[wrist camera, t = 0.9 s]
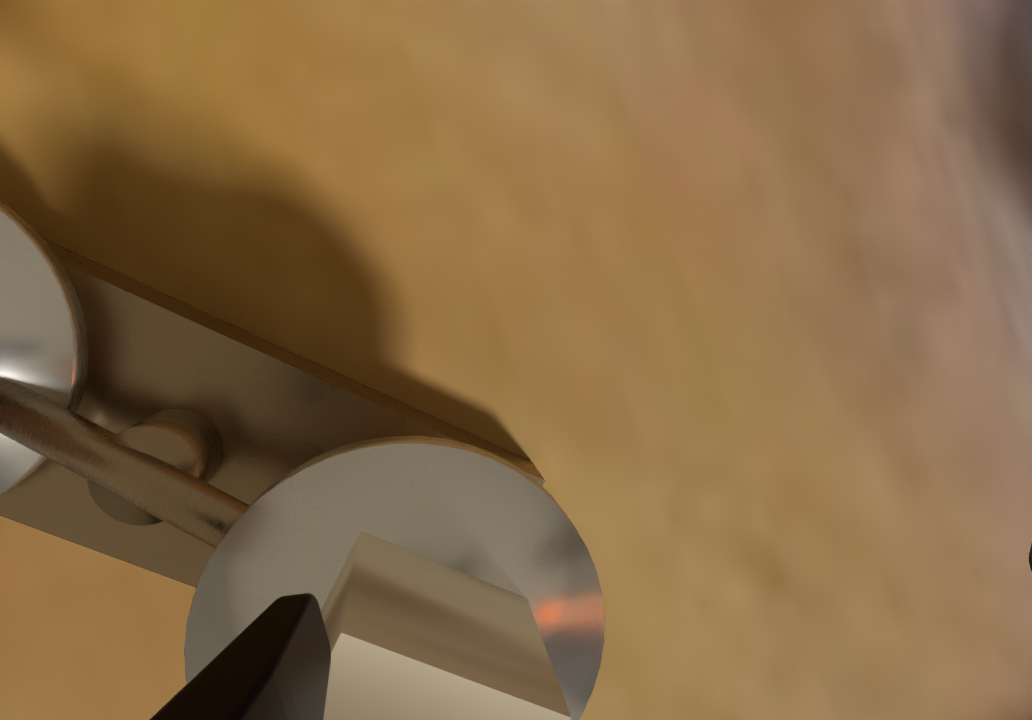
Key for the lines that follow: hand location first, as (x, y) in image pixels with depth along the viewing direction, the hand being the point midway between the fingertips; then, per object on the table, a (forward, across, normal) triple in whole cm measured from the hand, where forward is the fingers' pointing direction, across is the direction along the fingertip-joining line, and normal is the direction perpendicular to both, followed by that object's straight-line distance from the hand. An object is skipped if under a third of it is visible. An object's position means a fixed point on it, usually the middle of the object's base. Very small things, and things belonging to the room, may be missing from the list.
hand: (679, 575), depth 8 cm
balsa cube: (+4, +5, +5) cm, 8 cm away
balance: (+12, +12, +3) cm, 17 cm away
